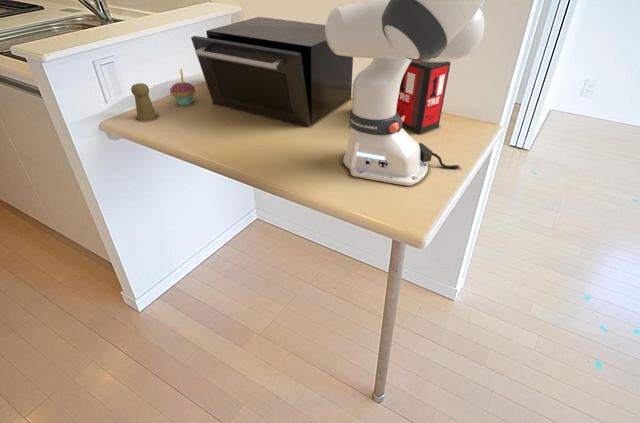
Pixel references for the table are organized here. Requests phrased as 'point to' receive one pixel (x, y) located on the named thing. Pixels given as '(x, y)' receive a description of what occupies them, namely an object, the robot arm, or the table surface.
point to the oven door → (254, 79)
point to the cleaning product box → (422, 95)
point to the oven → (317, 58)
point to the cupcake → (182, 92)
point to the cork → (143, 102)
